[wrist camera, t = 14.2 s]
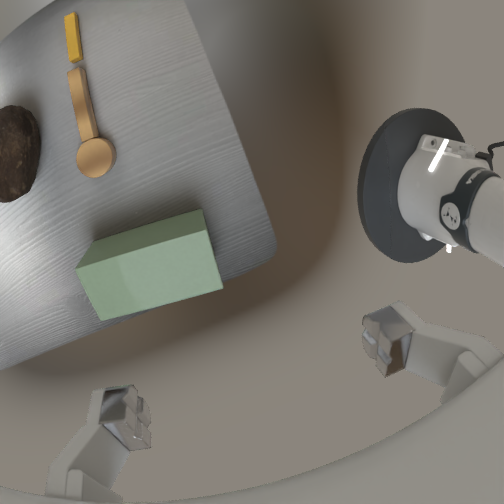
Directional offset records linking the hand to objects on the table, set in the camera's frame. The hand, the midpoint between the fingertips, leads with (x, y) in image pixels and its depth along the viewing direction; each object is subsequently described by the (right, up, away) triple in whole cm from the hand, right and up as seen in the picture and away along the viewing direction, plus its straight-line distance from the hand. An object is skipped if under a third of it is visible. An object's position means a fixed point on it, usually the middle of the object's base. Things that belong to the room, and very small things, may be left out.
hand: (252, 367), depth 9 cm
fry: (-21, +30, +14) cm, 39 cm away
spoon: (-19, +19, +20) cm, 33 cm away
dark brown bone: (-39, +15, +17) cm, 45 cm away
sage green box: (-13, +4, +28) cm, 31 cm away
